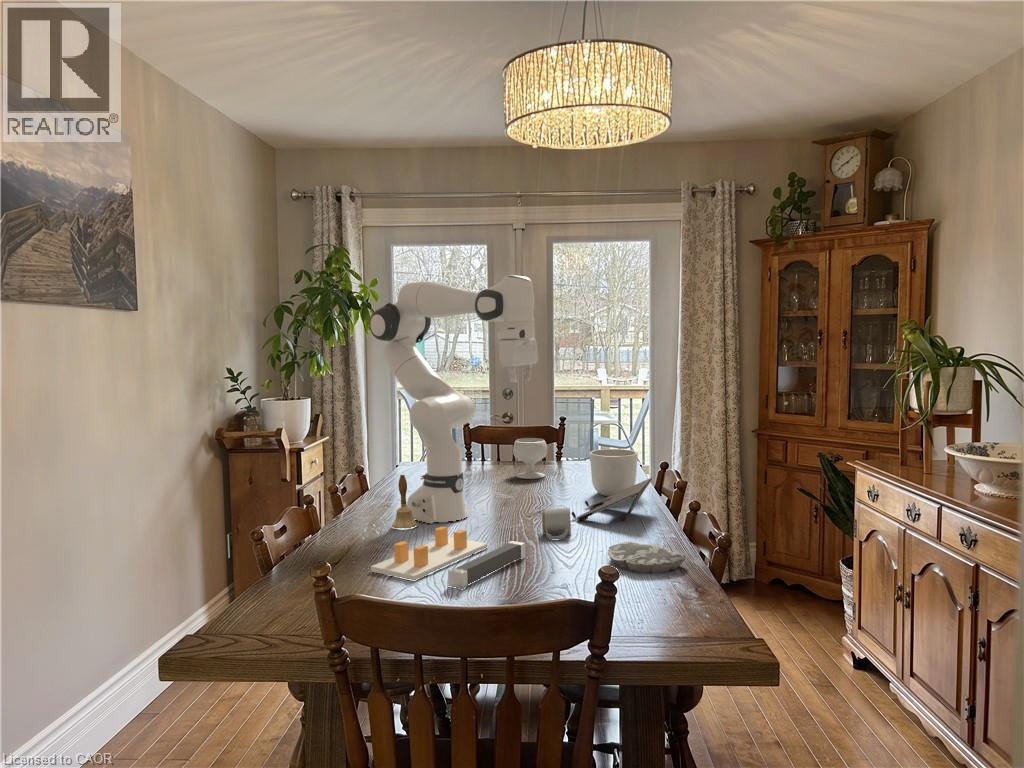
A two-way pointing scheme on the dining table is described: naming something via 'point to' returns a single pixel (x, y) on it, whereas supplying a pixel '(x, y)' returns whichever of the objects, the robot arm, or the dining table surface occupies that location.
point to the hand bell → (403, 508)
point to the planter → (613, 470)
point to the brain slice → (644, 557)
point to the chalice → (530, 455)
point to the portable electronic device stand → (616, 500)
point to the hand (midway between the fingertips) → (520, 381)
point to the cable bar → (485, 564)
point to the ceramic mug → (556, 523)
